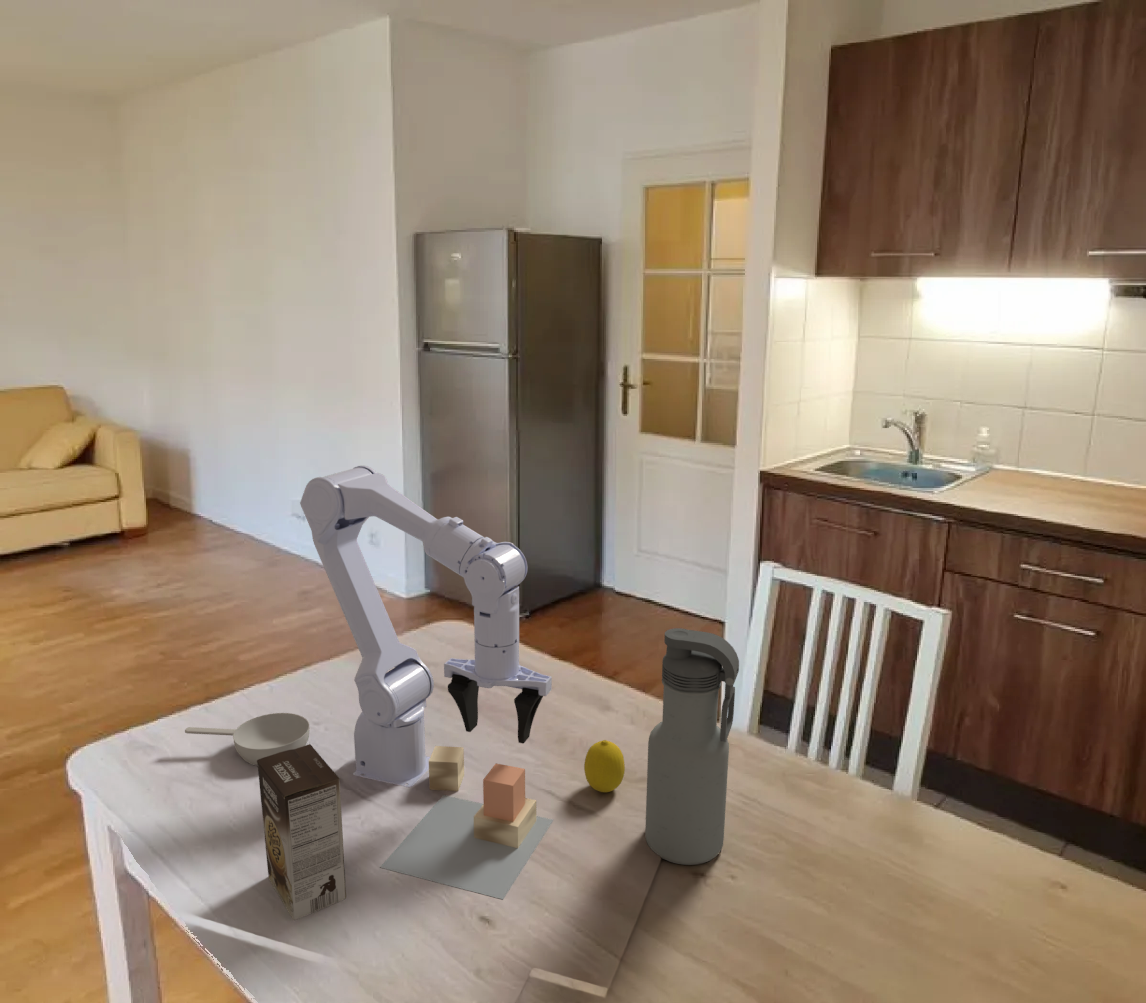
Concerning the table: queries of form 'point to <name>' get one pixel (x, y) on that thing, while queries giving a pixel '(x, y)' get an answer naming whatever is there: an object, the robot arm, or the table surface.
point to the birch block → (446, 768)
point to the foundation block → (506, 826)
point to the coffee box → (302, 830)
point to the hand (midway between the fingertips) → (497, 733)
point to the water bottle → (691, 749)
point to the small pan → (264, 735)
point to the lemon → (604, 766)
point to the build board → (462, 851)
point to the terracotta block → (504, 792)
